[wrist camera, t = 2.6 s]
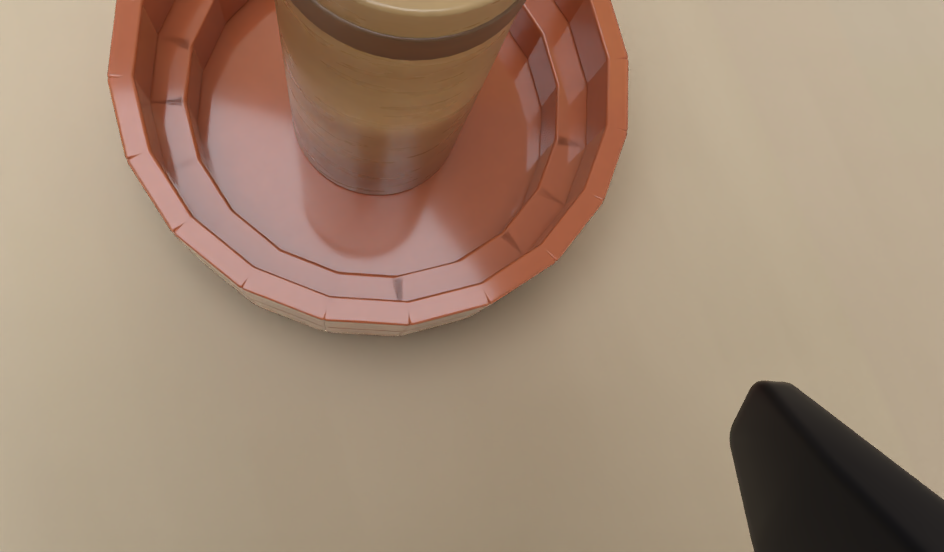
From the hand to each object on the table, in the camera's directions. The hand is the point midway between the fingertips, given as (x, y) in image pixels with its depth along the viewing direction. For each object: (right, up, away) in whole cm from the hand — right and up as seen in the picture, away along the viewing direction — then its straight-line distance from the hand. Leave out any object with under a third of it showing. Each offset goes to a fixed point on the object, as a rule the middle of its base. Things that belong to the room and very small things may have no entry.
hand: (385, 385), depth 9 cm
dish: (-2, +6, +14) cm, 16 cm away
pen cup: (-2, +6, +14) cm, 15 cm away
